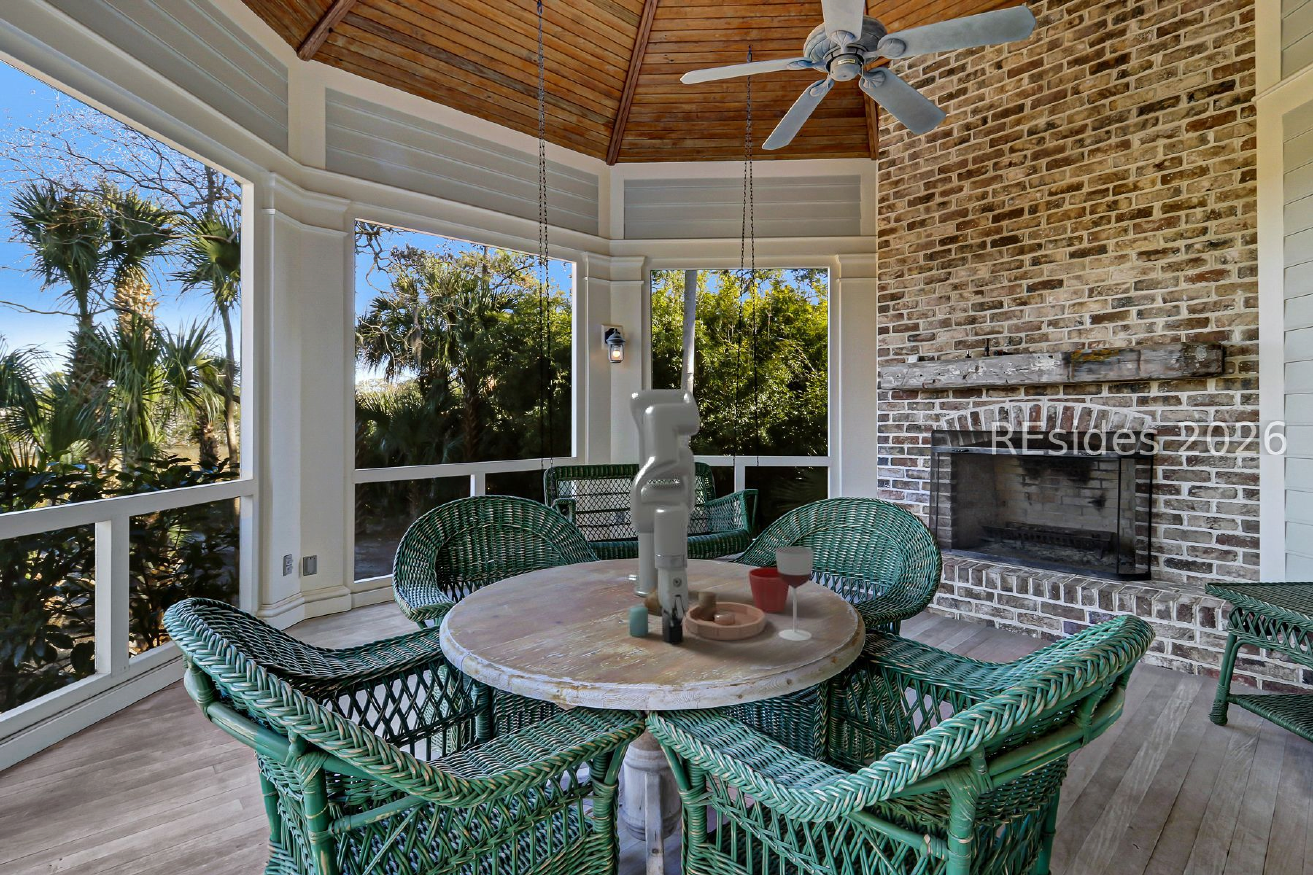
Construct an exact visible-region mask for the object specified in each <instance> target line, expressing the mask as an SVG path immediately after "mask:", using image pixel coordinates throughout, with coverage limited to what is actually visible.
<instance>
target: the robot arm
mask: <svg viewBox="0 0 1313 875" xmlns="http://www.w3.org/2000/svg"><path fill="white" fill-rule="evenodd" d="M629 408H630V412H631V413H630V414H631V416H632V418H633V420H634V423H635V426H636V429H637V432H638V468H639V471H638V472H637V473H636V475H635V476H634V479H633V480H632V483H631V486H630V492H629V508H630V522H631V523H630V524H631V526H632V528H633V530H634V531H635V532H636V533H637V539H638V540H637V541H638V546H637V548H638V574H635V573H630V574H629V578H628V582H629V583H635V586H634V588H633V591H634V594H636V595H637V596H640V597H644V598H646V597H647V596H648V595H649V594H650V593H651V592H652V591H653V590H654V589H656V588H658V599H659V603H660V604H661V606H662V615H661V626H662V628H661V630H662V631H661V633H662V635H663V613H666V612H668V613H669V619H670V625H669V626H668V627H669V643H668V644H670V643H675V644H679V643H683V641H684V637H683V634H684V633H683V632H684V629H683V626H684V623H683V622H684V618H685V616H684V615H685V614H684V612H685V613H686V612H688V611H689V609H690V603H689V585H688V577H687V570H686V569H687V568H688V526H689V525H690V523H691V514H692V513H693V511H694V509H695V506H696V505H695V503H696V497H695V496H696V492H695V491H696V488H695V487H696V466H695V463H696V462H695V457H694V453H693V451H692V449H691V448H690V447H687V446H685V445H684V446H683V445H682V446H681V445H679V439H678V438H679V437H680V436H681V437H682V436H695V435H697V434H698V432H699V430H700V426H701V418H700V411H699V408H698V405H697V402H696V399H695V397H694V395H693V393H692V392H691V391H690V390H689V389H681V388H680V389H678V388H675V389H672V388H671V389H662V388H661V389H658V388H657V389H641V390H637V391H634V392H632V393H631V394H630V396H629ZM651 480H652V481H655V480H656V481H659V480H660V481H663V480H677V481H678V482H668V483H667V482H661V483H660V482H658V483H657V482H655V483H648V482H649V481H651ZM675 609H676V611H675ZM673 615H676V617H674V619H673Z"/></svg>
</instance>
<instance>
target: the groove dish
mask: <svg viewBox="0 0 1313 875" xmlns="http://www.w3.org/2000/svg"><path fill="white" fill-rule="evenodd" d="M716 609H717V612H716V613H715V620H713V621H703V620H700V619H699V604H698V605H694V606H693V607H689V611H688V612H685V628H686V630H687V631H688V632H689V633H691V634H692V635H694V636H696V637H697V636H698V637H701V638H704V639H709V640H713V641H714V640H715V641H740V640H746V639H750V638H754V637H756V636H758V635H761V633H763V632H764V630H765V626H766V614H765V612H763V611H762V610H760V609H758V608H756V607H755V606H753V605H750V604H746V603H745V604H744V603H739V602H734V601H733V602H732V601H731V602H730V601H727V602H725V601H722V602H721V601H720V602H718V601H716Z"/></svg>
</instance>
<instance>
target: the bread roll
mask: <svg viewBox="0 0 1313 875" xmlns="http://www.w3.org/2000/svg"><path fill="white" fill-rule="evenodd" d="M643 607H647V608H648V614H651V615H654V616H662V606H661V604H660V603H659V599H658V588H656V589H654V590H653V591H652V592H651V593H650V594H649V595H648V596H647V597H644V601H643ZM675 611H676V609H675Z"/></svg>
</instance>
